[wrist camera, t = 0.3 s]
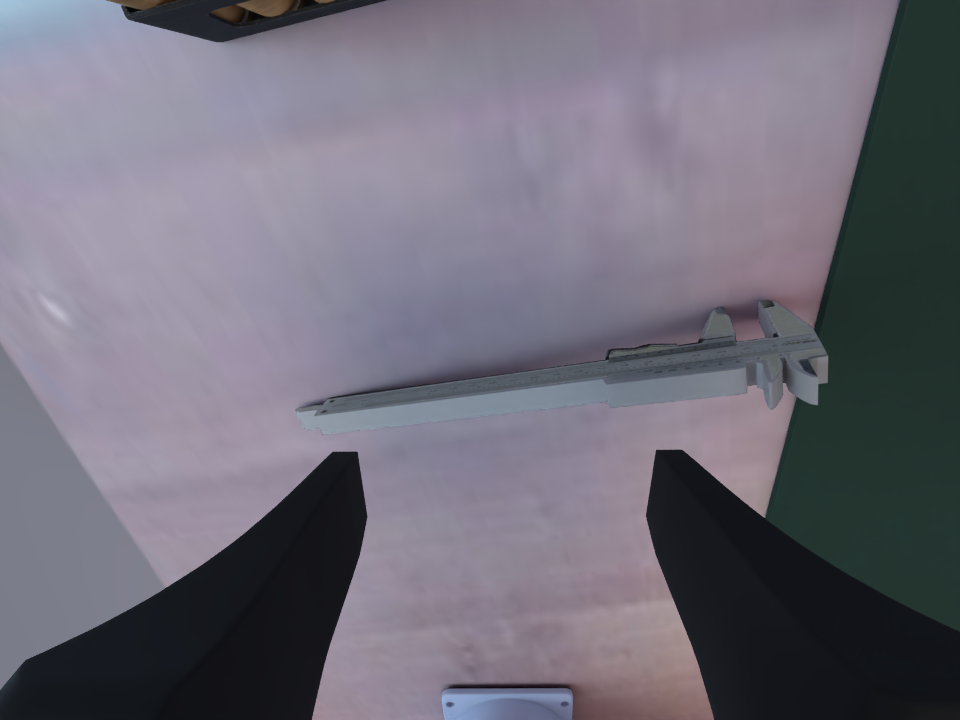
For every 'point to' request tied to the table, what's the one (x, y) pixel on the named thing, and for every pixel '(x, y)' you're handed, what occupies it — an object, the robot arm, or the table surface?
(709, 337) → the caliper
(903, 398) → the desk mat
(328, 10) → the ammunition clip
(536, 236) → the table surface
